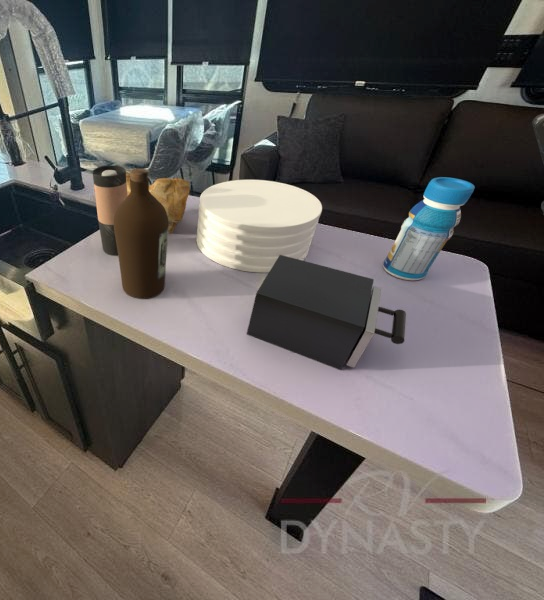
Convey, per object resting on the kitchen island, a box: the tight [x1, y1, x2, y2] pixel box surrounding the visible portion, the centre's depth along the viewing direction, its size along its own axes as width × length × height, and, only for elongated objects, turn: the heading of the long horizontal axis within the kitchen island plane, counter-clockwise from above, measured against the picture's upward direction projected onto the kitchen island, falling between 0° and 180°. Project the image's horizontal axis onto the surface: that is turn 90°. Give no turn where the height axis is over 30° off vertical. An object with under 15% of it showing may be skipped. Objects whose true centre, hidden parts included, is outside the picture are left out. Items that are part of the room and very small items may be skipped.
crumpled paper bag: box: [126, 171, 191, 234], centre depth 93 cm, size 23×17×15 cm
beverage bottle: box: [382, 176, 476, 281], centre depth 68 cm, size 8×8×20 cm
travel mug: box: [92, 164, 128, 256], centre depth 79 cm, size 8×8×20 cm
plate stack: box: [196, 179, 323, 273], centre depth 82 cm, size 28×28×12 cm
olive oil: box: [114, 168, 169, 300], centre depth 65 cm, size 11×11×25 cm
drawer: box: [345, 286, 407, 369], centre depth 56 cm, size 19×13×8 cm, turn 57°
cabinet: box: [246, 255, 375, 371], centre depth 58 cm, size 16×14×10 cm
